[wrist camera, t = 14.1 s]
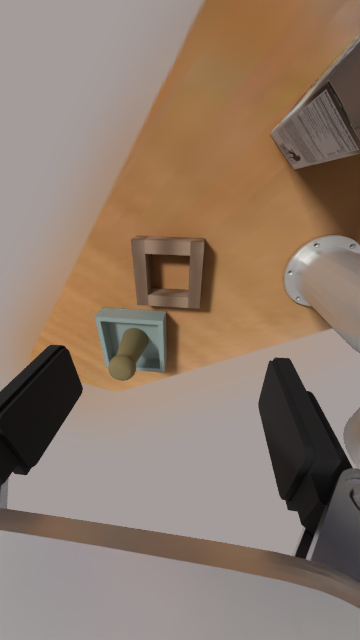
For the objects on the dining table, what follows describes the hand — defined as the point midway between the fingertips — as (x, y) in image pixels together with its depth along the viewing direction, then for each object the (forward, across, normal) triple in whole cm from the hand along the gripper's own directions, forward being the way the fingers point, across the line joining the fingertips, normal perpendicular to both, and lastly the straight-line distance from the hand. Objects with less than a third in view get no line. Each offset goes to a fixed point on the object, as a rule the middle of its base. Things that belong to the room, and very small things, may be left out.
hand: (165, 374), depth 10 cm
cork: (+31, +14, +21) cm, 39 cm away
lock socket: (+32, +5, +5) cm, 32 cm away
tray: (+31, +14, +21) cm, 40 cm away
